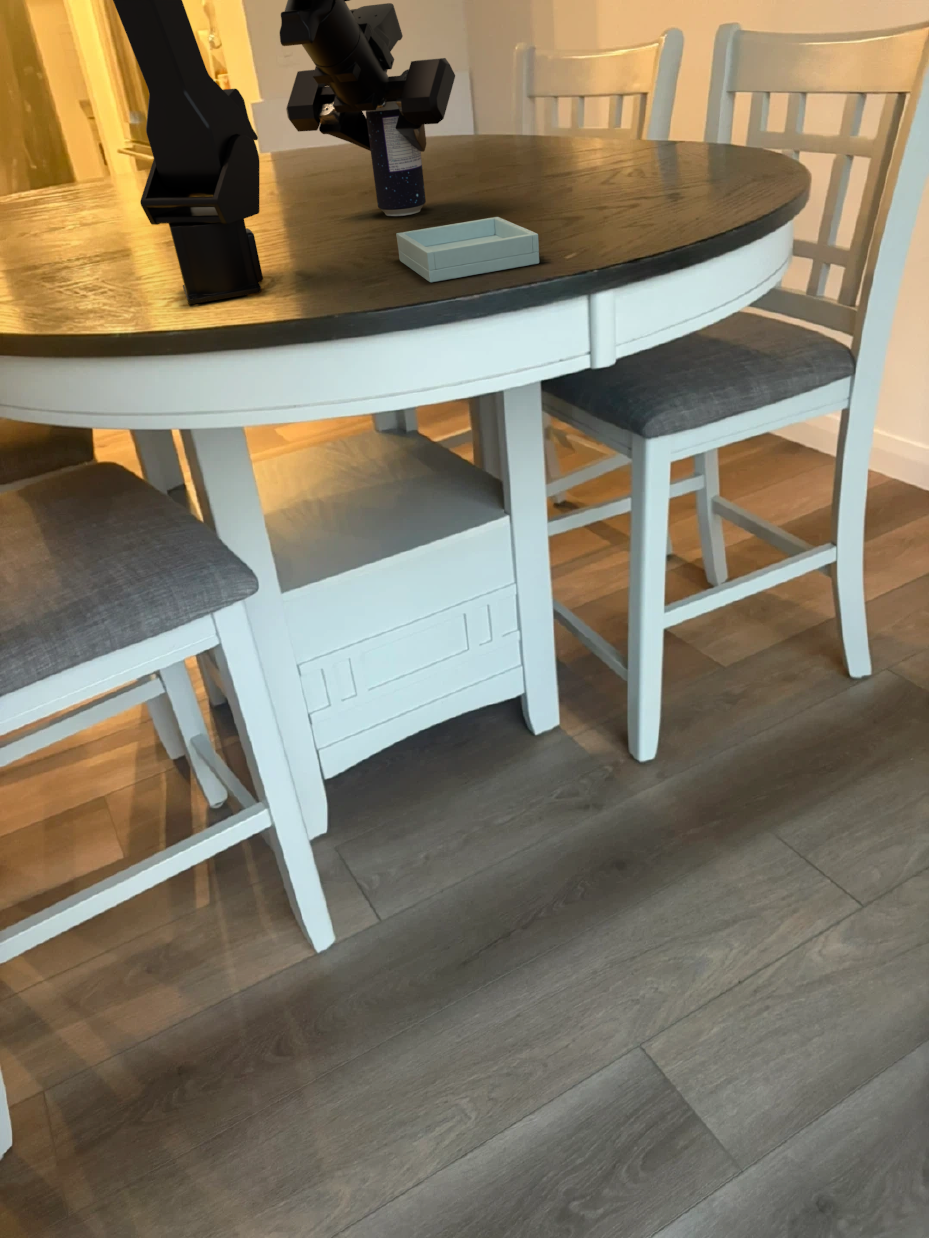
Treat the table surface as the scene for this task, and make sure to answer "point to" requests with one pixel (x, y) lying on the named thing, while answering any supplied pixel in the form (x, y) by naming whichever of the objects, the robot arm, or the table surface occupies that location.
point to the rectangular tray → (467, 248)
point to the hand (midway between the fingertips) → (401, 149)
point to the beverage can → (394, 164)
